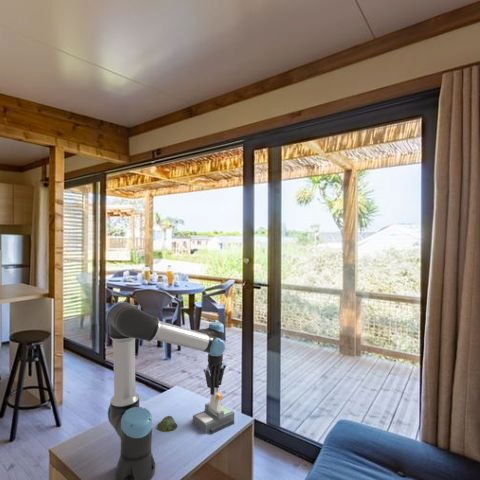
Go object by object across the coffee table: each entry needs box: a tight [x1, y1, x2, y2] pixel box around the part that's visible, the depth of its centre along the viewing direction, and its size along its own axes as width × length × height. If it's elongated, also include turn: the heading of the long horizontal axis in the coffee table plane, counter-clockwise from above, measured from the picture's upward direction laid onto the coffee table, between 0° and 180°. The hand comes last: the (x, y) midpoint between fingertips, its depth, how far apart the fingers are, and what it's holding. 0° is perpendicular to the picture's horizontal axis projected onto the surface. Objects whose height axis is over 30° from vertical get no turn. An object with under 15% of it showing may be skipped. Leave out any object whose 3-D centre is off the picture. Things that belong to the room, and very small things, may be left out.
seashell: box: [156, 415, 178, 433], centre depth 164 cm, size 10×4×10 cm
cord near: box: [209, 419, 235, 435], centre depth 164 cm, size 14×2×2 cm, turn 133°
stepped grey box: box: [192, 401, 235, 434], centre depth 169 cm, size 18×12×7 cm, turn 133°
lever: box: [208, 392, 224, 415], centre depth 169 cm, size 2×8×9 cm, turn 43°
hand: (213, 400), depth 168 cm, fingers closed
